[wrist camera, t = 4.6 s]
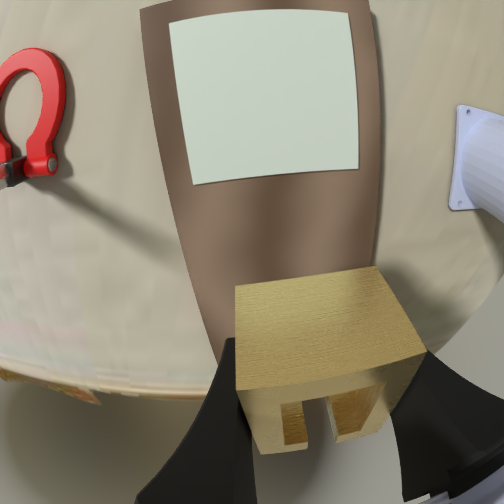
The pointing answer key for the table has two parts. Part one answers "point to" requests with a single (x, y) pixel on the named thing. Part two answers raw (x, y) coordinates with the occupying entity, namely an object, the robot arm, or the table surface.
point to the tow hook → (40, 142)
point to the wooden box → (321, 354)
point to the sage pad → (266, 92)
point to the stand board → (264, 180)
